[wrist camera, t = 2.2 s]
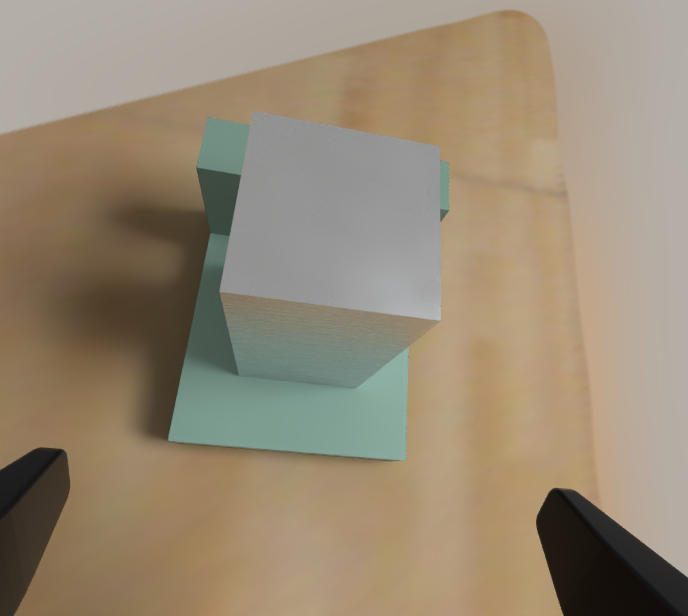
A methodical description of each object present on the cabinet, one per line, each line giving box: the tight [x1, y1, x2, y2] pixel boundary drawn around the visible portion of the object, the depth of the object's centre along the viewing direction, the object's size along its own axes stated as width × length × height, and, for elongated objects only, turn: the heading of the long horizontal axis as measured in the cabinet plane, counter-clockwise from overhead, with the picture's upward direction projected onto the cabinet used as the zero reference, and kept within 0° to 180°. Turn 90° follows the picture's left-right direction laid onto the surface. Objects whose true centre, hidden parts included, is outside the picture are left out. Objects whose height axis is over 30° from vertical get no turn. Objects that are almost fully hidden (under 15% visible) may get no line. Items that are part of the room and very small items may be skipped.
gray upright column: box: [219, 111, 441, 389], centre depth 16 cm, size 5×5×10 cm
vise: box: [168, 118, 449, 461], centre depth 19 cm, size 12×10×7 cm
